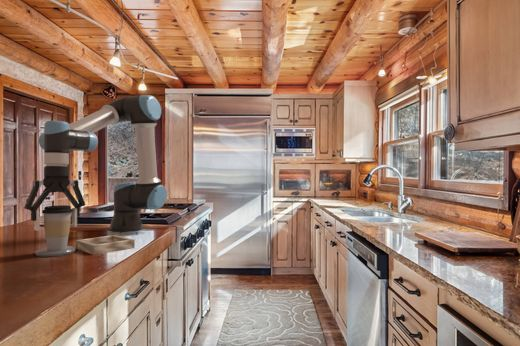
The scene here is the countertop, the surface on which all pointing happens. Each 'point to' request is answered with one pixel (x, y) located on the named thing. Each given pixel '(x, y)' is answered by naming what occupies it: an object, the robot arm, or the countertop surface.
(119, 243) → the frame
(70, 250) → the disc
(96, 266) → the countertop surface
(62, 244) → the coffee cup
